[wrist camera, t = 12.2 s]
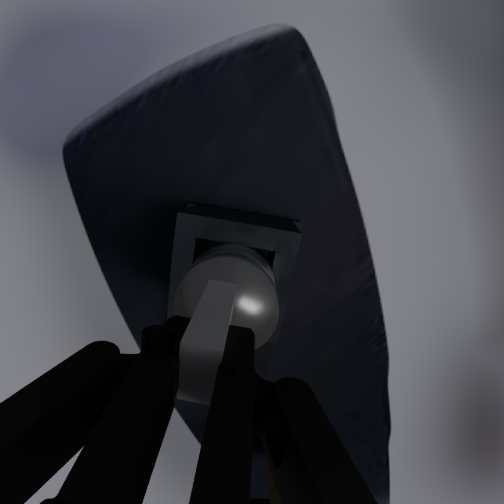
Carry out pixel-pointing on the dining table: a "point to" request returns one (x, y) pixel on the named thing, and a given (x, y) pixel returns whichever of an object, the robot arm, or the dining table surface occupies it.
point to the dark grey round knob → (247, 292)
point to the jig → (241, 233)
